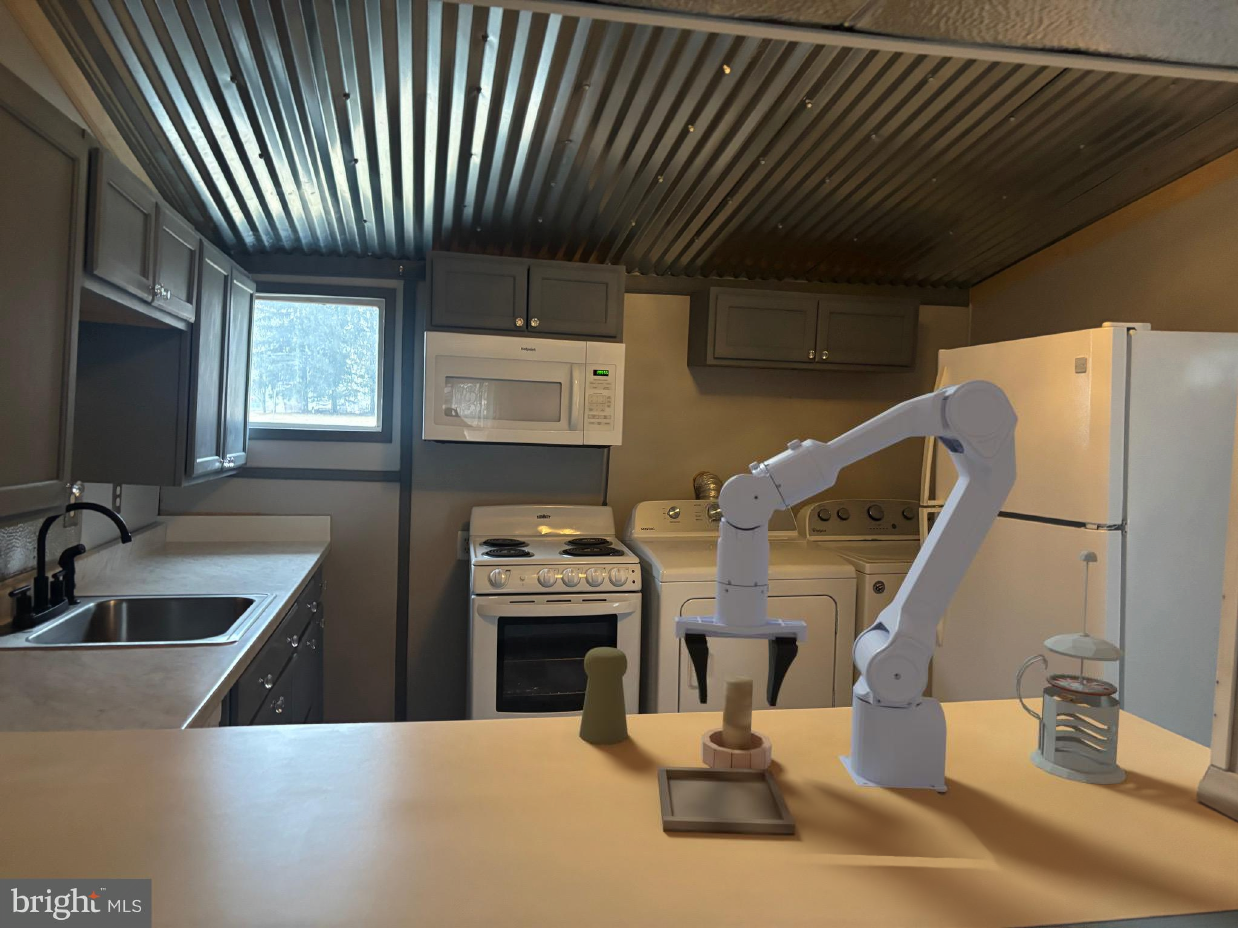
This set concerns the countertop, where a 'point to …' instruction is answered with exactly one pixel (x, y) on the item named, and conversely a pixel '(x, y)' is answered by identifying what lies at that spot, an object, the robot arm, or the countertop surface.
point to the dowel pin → (737, 713)
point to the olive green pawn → (604, 697)
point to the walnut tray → (722, 801)
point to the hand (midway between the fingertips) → (737, 702)
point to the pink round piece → (735, 752)
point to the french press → (1078, 710)
